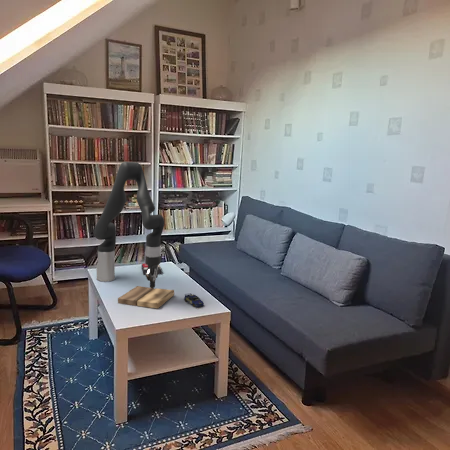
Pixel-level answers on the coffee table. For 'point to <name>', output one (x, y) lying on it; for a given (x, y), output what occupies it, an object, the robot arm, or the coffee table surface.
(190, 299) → the race car
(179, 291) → the coffee table surface
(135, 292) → the floor board
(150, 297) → the plank
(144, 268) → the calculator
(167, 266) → the coffee table surface
